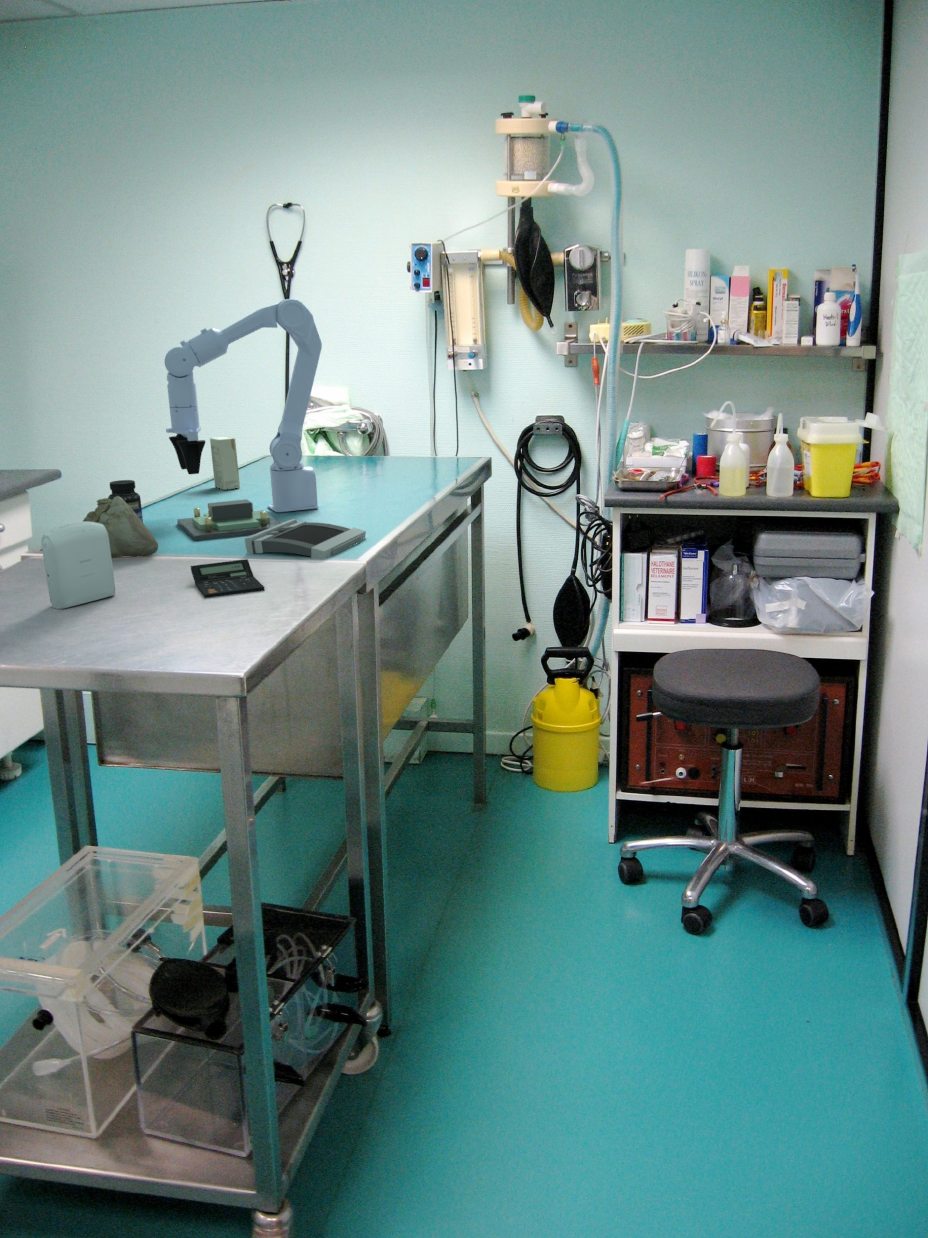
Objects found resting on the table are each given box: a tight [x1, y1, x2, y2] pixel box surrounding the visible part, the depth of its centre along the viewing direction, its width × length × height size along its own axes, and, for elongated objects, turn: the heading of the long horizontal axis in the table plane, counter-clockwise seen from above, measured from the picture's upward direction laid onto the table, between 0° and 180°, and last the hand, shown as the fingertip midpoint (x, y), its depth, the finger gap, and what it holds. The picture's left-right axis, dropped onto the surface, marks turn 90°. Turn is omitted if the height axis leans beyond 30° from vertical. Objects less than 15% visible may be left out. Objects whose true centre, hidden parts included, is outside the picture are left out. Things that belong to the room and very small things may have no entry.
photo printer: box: [41, 521, 117, 610], centre depth 163 cm, size 10×4×12 cm, turn 140°
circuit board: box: [191, 499, 270, 531], centre depth 214 cm, size 14×14×4 cm
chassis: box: [177, 502, 282, 542], centre depth 214 cm, size 18×18×4 cm
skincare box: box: [209, 436, 241, 491], centre depth 258 cm, size 6×4×12 cm
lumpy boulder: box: [81, 496, 159, 558], centre depth 194 cm, size 11×11×15 cm
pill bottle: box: [107, 479, 144, 523], centre depth 206 cm, size 6×6×11 cm
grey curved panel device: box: [244, 518, 367, 560], centre depth 197 cm, size 17×5×16 cm
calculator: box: [190, 558, 266, 599], centre depth 171 cm, size 9×12×3 cm
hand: (190, 471), depth 225 cm, fingers open, 7 cm apart
